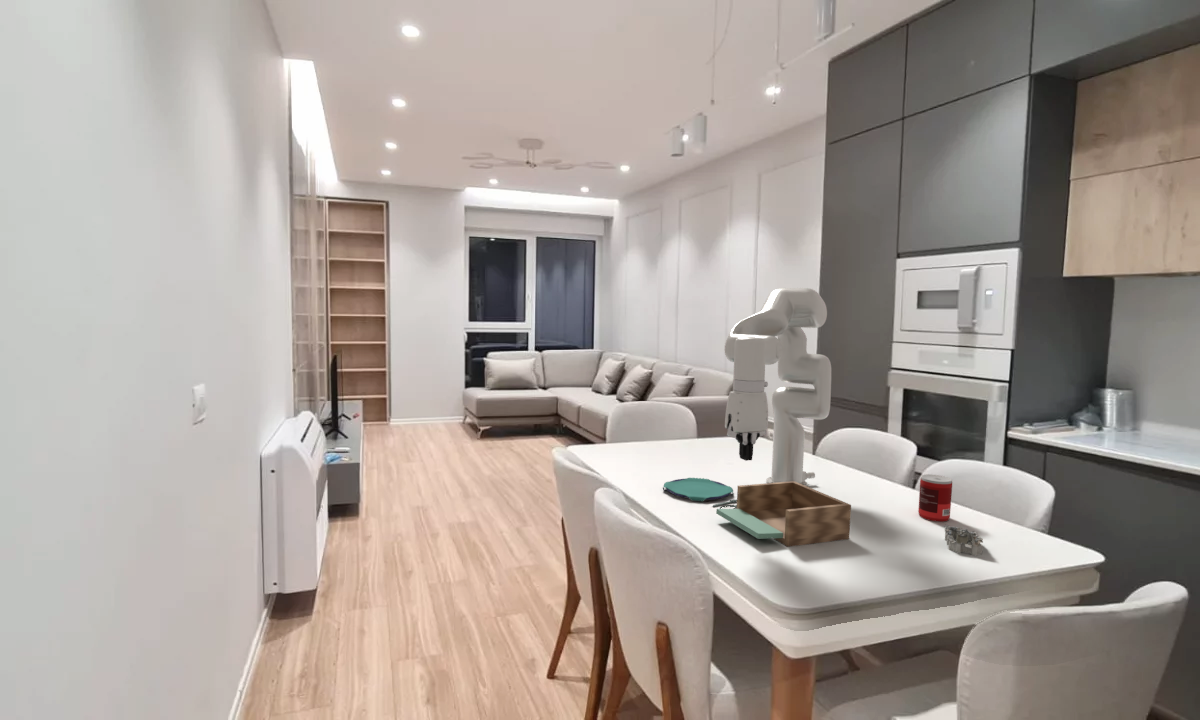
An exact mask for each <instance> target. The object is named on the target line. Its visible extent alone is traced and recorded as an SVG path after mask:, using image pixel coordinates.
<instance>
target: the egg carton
mask: <svg viewBox="0 0 1200 720" xmlns="http://www.w3.org/2000/svg"><path fill="white" fill-rule="evenodd" d="M944 541H946V546H948V548H947V549H948V550H949V551H952V552H954V553H957V554H961V553H967V554H970V555H972V556H978V555H979V556H980V555H982V554H983V544H981V543H984V540H983V537H981V536H979V535H977V532H975V530H974V531H973V530H972V531H969V530H968V529H967V528H965V529H964V528H961V527H958V526H950V525H948V524H945V525H944ZM968 542H970V543H971V544H968Z"/></svg>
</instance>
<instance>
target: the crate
mask: <svg viewBox="0 0 1200 720" xmlns="http://www.w3.org/2000/svg"><path fill="white" fill-rule="evenodd" d="M736 490H737V494H736V495H737V496H736V500H737V502H736V505H737V507H736V509H741V510H743V511H745V512H746V513H748V514H750V515H752V516H754V517H755V518H757V519H759V520H761V521H763V522H764V523H766V524H768V525H770V526H771V527H773V528H775V529H777V530H779V531H780V532H782V533H783V538H772V539H773V540H775V541H777V542H779V543H781V544H782V545H784V546H785V547H795V546H796V547H797V546H803V545H804V546H805V545H811V544H813V545H814V544H821V543H827V542H836V541H837V542H838V541H843V540H844V541H846V540H850V531H851V513H852V504H851V503H848V502H845V501H842V500H841V499H838V498H836V497H833V496H831V495H828V494H826V493H824V492H822V491H819V490H816V489H814V488H812V487H809V486H808V485H807V486H805V485H802V484H800V483H797V482H795V481H789V482H777V483H755V484H744V485H740V484H739V485H737V489H736Z"/></svg>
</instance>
